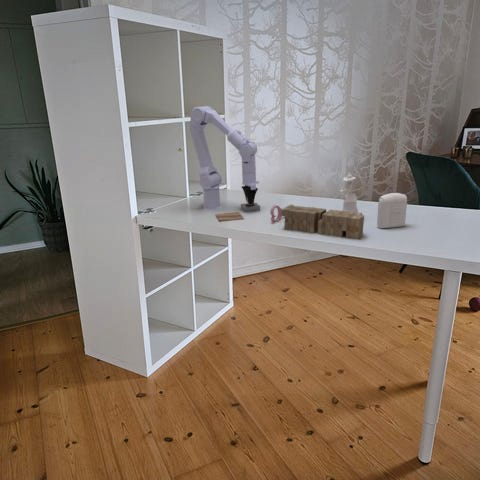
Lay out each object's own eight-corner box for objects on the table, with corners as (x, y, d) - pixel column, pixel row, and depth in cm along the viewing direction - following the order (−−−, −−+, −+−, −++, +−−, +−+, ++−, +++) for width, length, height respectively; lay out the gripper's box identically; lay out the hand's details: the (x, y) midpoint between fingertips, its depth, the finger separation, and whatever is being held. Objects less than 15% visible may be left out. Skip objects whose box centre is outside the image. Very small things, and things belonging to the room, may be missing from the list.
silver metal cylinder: (246, 209, 189) (245, 195, 187) (252, 208, 190) (252, 195, 188) (247, 210, 187) (247, 197, 185) (254, 210, 187) (253, 196, 185)
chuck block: (240, 209, 191) (240, 204, 190) (256, 208, 192) (256, 202, 192) (244, 213, 184) (244, 207, 184) (260, 211, 186) (260, 206, 185)
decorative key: (300, 219, 183) (271, 223, 168) (298, 219, 184) (269, 222, 169) (301, 203, 182) (273, 205, 167) (299, 203, 182) (270, 205, 167)
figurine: (336, 216, 174) (338, 172, 168) (356, 215, 174) (358, 170, 168) (342, 221, 167) (343, 175, 161) (362, 220, 167) (365, 173, 162)
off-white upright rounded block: (400, 223, 161) (402, 190, 157) (406, 226, 157) (409, 193, 153) (375, 226, 159) (376, 193, 155) (381, 229, 155) (383, 195, 151)
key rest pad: (215, 216, 182) (215, 214, 181) (238, 214, 184) (238, 212, 183) (219, 222, 172) (219, 220, 172) (243, 220, 174) (243, 218, 174)
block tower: (364, 236, 152) (290, 223, 167) (366, 213, 150) (290, 202, 165) (357, 242, 146) (280, 229, 161) (359, 218, 143) (281, 207, 158)
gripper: (262, 173, 177) (263, 206, 181) (254, 168, 191) (255, 198, 195) (245, 175, 176) (247, 207, 180) (238, 169, 189) (239, 200, 193)
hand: (250, 203), depth 187 cm, fingers closed on silver metal cylinder, 3 cm apart
